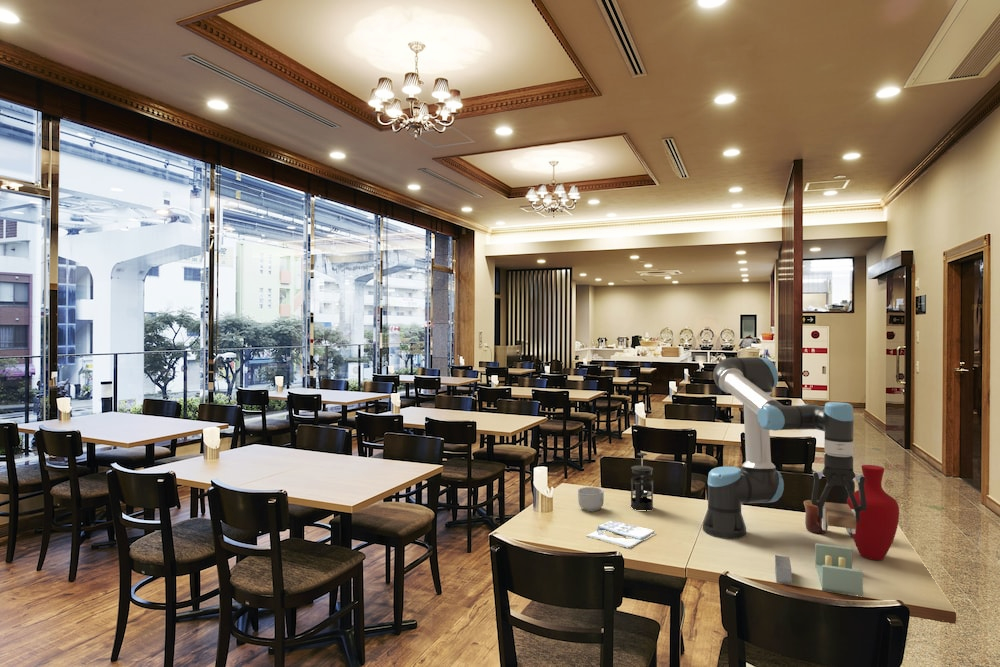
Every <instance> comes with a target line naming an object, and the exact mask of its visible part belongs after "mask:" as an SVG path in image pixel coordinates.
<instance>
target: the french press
mask: <svg viewBox="0 0 1000 667" xmlns="http://www.w3.org/2000/svg"><path fill="white" fill-rule="evenodd" d="M636 455H637V456H640V459H641V465H633V466H631V467H630V469H631V470H632V471H631V472H632V474H633V475H636V476H634V477H631V479H630V506H631V507H632V508H633V509H636V510H646V511H645V512H648V511H647V510H652V509H653V510H654V479H653V478H651V477H645V476H651V475H653V471H654V468H653V467H652V466H648V465H643V461H644V460H643V459H644V456H648V454H647V453H645V452H638V453H636ZM634 485H635V490H634V487H633V486H634ZM648 486H651V488H650V489H651V490H650V491H649V490H648ZM633 496H634V497H633ZM650 497H651V498H650ZM631 507H630V508H631ZM633 509H632V510H633ZM636 510H635V511H636ZM653 510H652V511H653Z"/></svg>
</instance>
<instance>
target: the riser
mask: <svg viewBox="0 0 1000 667" xmlns="http://www.w3.org/2000/svg"><path fill="white" fill-rule="evenodd" d="M774 555H775V554H774ZM774 571H775V582H776V583H778V584H779V583H780V584H786V585H792V565H791V559H790V557H789V556H783V555H777V554H776V555H775V556H774Z"/></svg>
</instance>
